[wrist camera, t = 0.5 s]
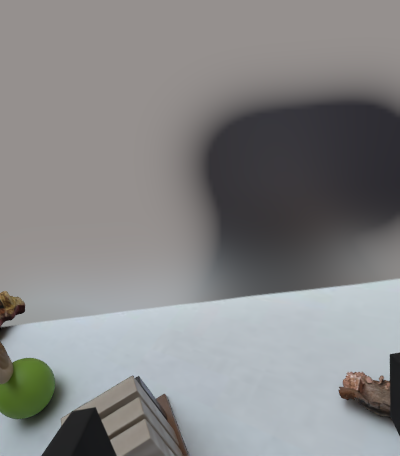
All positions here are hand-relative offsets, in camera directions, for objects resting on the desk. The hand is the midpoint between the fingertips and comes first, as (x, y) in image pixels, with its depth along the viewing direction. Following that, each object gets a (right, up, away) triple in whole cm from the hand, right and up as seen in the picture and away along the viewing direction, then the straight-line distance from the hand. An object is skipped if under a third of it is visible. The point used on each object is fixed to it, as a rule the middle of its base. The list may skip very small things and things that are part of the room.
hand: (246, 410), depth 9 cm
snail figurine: (-17, -13, +28) cm, 36 cm away
